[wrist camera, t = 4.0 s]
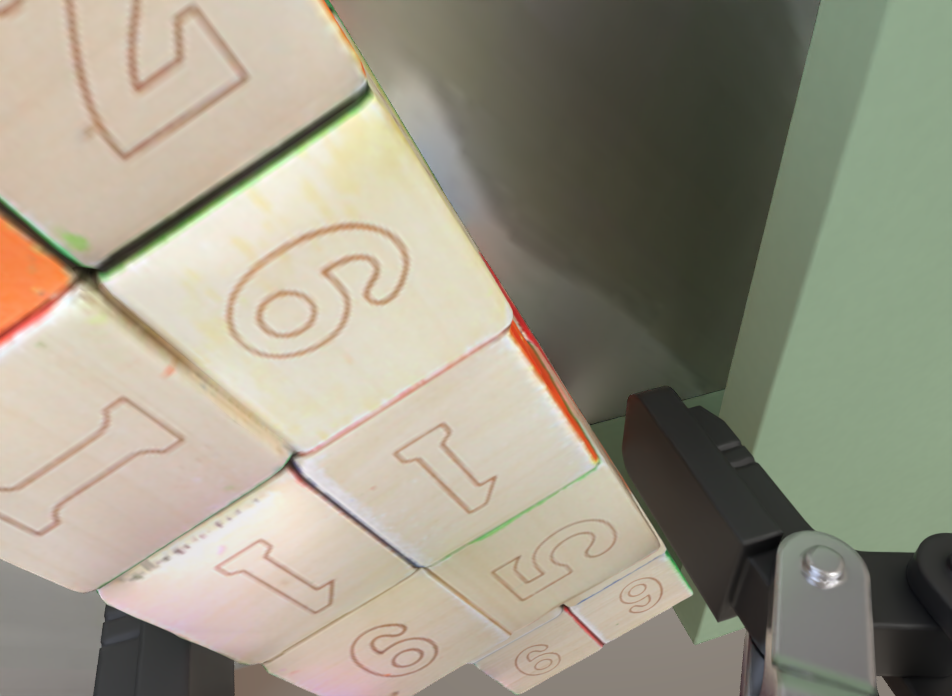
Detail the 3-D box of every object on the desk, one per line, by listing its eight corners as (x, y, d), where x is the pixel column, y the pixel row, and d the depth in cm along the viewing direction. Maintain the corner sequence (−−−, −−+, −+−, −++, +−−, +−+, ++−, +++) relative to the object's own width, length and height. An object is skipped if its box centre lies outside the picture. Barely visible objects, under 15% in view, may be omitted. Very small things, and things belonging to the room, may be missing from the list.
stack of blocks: (569, 391, 27) (760, 700, 18) (434, 473, 27) (551, 815, 18) (167, -267, 13) (72, -441, 4) (-99, -73, 13) (-788, 219, 4)
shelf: (581, 451, 29) (694, 646, 22) (636, -354, 14) (1041, -497, 7) (823, 384, 31) (991, 543, 25) (1099, -367, 16) (1732, -483, 10)
